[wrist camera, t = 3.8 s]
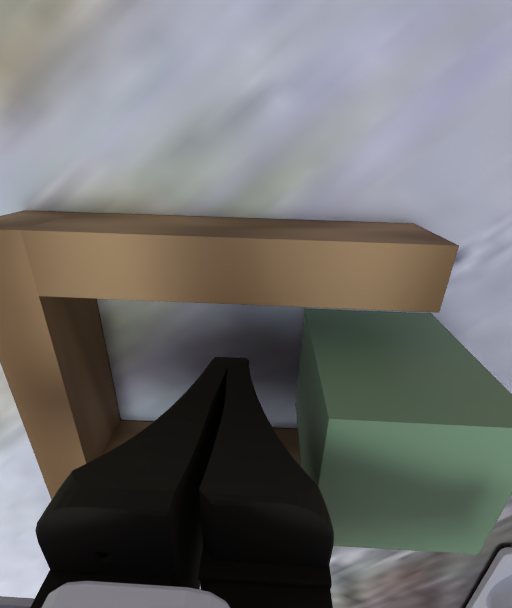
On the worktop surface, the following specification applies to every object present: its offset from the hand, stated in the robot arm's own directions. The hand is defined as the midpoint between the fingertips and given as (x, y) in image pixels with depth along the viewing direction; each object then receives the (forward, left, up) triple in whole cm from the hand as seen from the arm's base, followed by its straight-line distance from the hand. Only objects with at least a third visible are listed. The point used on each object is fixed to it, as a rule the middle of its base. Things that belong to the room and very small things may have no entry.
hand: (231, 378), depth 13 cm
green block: (-5, 0, -2) cm, 6 cm away
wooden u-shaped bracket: (0, 0, -1) cm, 1 cm away
